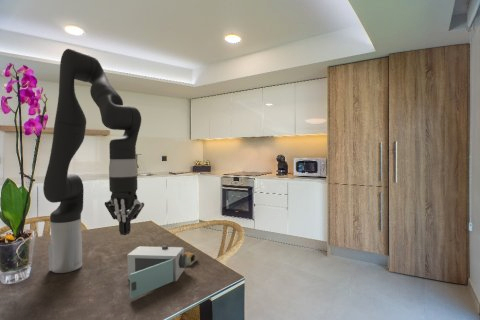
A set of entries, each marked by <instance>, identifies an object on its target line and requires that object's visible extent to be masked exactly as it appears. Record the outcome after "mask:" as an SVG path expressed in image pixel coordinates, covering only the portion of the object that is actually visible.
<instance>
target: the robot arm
mask: <svg viewBox="0 0 480 320" xmlns="http://www.w3.org/2000/svg"><path fill="white" fill-rule="evenodd" d="M59 63H60V64H59V77H58V78H59V82H58V85H59V86H58V97H57V99H58V100H57V105H56V106H57V107H56V113H55V117H54V125H53V126H54V127H53V133H52V134H53V135H52V142H51V148H50V156H49V160H48V165H47V169H46V172H45V176H44V179H43V187H42V189H43V190H42V191H43V196H44V197H45V198H46V200H47V201H48V202H50V203H53V204H54V203H55V204H56V203H59V205H58V206H57V208H56V209H55V210H53V211H52V212H51V213H50V215H49V219H50V221H49V223H50V242H49V243H48V245H47V247H48V249H47V251H48V270H49V271H50V272H52V273H55V274H64V273H71V272H73V271H76V270H78V269H80V268H82V267H83V248H82V247H83V245H82V244H83V241H82V238H83V237H82V219H81V218H82V212H83V209H84V193H85V192H84V184H83V180H82V179H81V177H80V176H79V175H77V174H75V173H69V169H70V168H69V167H70V163H71V161H72V160H73V158H74V157H75V154H76V153H77V152H78V150H79V148H81V145H82V144H83V142H84V139H85V136H86V128H87V117H86V115H85V113H84V110H83V108H82V107H81V105H80V103H79V101H78V98H77V95H76V92H75V90H76V89H75V80H76V81H81V82H84V83H89V84H91V86H90V88H89V89H90V90H89V91H90V92H89V93H90V96H91V99H92V100H93V102H94V104H95V105H96V106H97V107H98V108H99V112H100V119H101V123H102V124H103V126H104V127H105V128H107V129H110V130H114V131H124V132H123V135H122V136H121V137H118V138H113V139H111V140H110V141H109V144H108V145H109V164H108V165H109V166H108V180H109V182H108V183H109V185H108V186H109V192H110V193H111V195H110V199H109V200H108V201H105V202H104V206H105V208H106V209H107V211H108V213H109V214H110V216H111V218H112V219H113V220H116V221H117V222H118V232H119V234H120V235H121V236H127V235H129V234H130V233H131V222H132V221H133V220H136V219H137V218H138V215H139V214H140V213H141V212H142V210H143V208H144V207H145V203H144V202H140V201H139V200H138V195H137V190H138V165H137V159H136V158H137V151H136V150H137V149H136V148H137V147H136V146H137V140H138V136H139V132H140V129H141V124H142V115H141V112H140V110H139V109H138V108H136V107H135V106H130V105H129V106H128V105H124V101H123V98H122V97H121V96H120V94H119V93H118V92H117V91H116V90H115V88H114V87H113V86H112V85H111V83H110V81H109V79H108V77H107V74H106V73H105V70H104V69H103V66H102V65H101V63H100V61H99V60H98V58H96V57H94V56H93V55H90V54H88V53H84V52H81V51H79V50H76V49H72V48H66V49H65V50H63V53H62V54H61V59H60V62H59Z"/></svg>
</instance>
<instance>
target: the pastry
mask: <svg viewBox="0 0 480 320" xmlns="http://www.w3.org/2000/svg"><path fill="white" fill-rule="evenodd" d="M184 254H187V257H188V262H187V266H186V267H188V266H192V265H193V264H194V263H195V262H197V260H198V259H197V258H198V255H196V253H195V252H189V251H185V252H184Z"/></svg>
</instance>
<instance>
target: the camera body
mask: <svg viewBox="0 0 480 320" xmlns="http://www.w3.org/2000/svg"><path fill="white" fill-rule="evenodd" d="M184 251H185V249H184V247H181V246H179V247H178V246H168V244H167V245H166V244H164V245H162V246H142V245H141V246H140V245H139V246H138V247H136V248H134V249H133V250H132V251H130V252H129V253H127V254H126V255H127V256H126V257H127V280H130V274H132V273H134V272H137V271H140V270H143V269H146V268H149V267H151V266H154V265H157V264H160V263H163V262H165V261H168V260H171V259H172V258H175V273H176V281H175V282H177V281H178V280H179V278H180V277H181V275H182V274H183V272H184V271H185V269H186V268H187V267H188V266H187V262H188V257H187V254H184Z"/></svg>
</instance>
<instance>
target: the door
mask: <svg viewBox="0 0 480 320" xmlns="http://www.w3.org/2000/svg"><path fill="white" fill-rule="evenodd" d="M172 282H177V281H176V273H175V258H172V259H171V260H168V261H165V262H163V263H160V264H157V265H154V266H151V267H149V268H146V269H143V270H140V271H137V272H134V273H132V274H130V279H129V299H130V300H132V299H135V298H137V297H140V296H142V295H144V294H146V293H149V292H151V291H154V290H155V289H156V290H157V289H158V288H161V287H162V286H163V287H164V286H165V285H168V284H171V283H172Z"/></svg>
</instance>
